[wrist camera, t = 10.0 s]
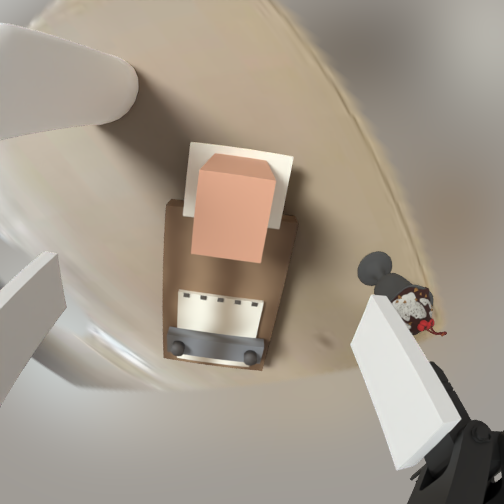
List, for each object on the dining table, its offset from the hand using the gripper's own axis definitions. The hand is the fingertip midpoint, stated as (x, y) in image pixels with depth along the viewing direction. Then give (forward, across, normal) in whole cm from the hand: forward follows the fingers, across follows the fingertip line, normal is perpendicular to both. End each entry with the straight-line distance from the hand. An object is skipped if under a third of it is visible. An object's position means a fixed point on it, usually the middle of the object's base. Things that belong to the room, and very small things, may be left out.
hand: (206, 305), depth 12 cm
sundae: (+23, -20, +8) cm, 31 cm away
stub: (+20, -1, 0) cm, 20 cm away
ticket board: (+23, -1, +14) cm, 27 cm away
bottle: (+23, +15, -9) cm, 29 cm away
